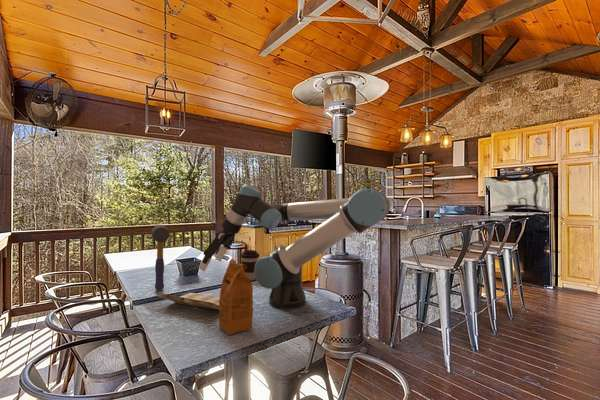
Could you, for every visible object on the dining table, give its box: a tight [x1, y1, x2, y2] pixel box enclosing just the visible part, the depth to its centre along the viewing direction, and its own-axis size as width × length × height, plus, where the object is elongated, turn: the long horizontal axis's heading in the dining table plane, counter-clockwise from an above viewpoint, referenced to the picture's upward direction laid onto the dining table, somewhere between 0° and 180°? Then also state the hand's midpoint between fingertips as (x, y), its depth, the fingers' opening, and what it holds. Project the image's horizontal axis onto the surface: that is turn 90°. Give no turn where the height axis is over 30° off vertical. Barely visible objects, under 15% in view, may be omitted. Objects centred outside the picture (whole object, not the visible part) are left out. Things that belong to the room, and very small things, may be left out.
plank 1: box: [157, 293, 197, 307], centre depth 121 cm, size 12×9×1 cm
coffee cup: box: [240, 249, 260, 281], centre depth 167 cm, size 10×10×15 cm
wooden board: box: [175, 292, 220, 312], centre depth 127 cm, size 25×9×2 cm, turn 67°
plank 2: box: [184, 298, 219, 311], centre depth 116 cm, size 12×9×1 cm
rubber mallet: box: [150, 224, 171, 291], centre depth 144 cm, size 12×8×30 cm, turn 29°
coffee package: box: [218, 258, 254, 336], centre depth 103 cm, size 10×12×22 cm
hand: (210, 264), depth 127 cm, fingers open, 13 cm apart
